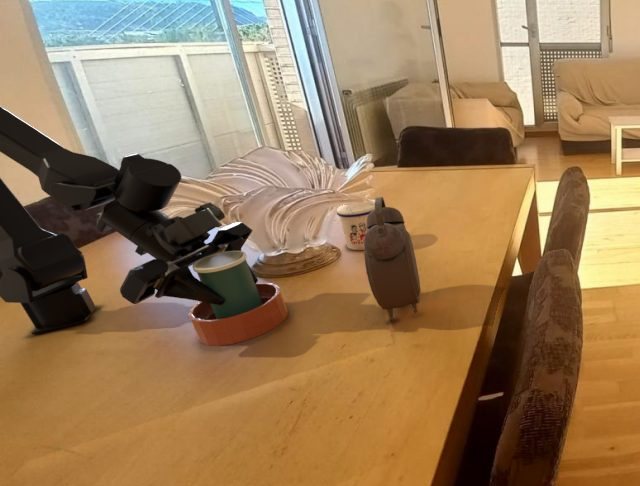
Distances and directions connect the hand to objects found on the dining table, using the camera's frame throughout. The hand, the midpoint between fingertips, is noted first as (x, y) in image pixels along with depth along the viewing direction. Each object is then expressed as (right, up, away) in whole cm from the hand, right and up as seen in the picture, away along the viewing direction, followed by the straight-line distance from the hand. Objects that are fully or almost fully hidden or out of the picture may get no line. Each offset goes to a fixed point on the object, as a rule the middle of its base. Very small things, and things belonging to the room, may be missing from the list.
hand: (240, 292), depth 77 cm
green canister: (-1, -6, +3) cm, 6 cm away
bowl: (-1, -6, +3) cm, 7 cm away
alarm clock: (+23, -4, +7) cm, 24 cm away
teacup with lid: (+4, +7, +34) cm, 35 cm away
